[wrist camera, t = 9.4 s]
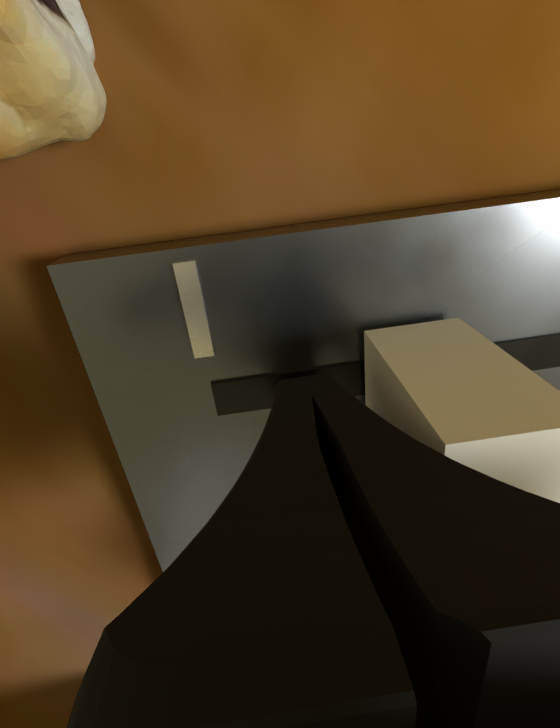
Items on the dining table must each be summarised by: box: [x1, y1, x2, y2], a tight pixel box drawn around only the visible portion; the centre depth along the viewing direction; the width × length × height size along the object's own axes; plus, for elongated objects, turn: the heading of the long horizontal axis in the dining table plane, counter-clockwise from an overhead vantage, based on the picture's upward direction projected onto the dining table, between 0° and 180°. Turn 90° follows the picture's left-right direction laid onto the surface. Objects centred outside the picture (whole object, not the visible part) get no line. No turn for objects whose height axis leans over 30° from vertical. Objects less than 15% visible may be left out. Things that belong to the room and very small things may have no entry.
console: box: [47, 189, 560, 572], centre depth 13 cm, size 15×22×1 cm
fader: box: [364, 318, 560, 503], centre depth 9 cm, size 3×2×4 cm
